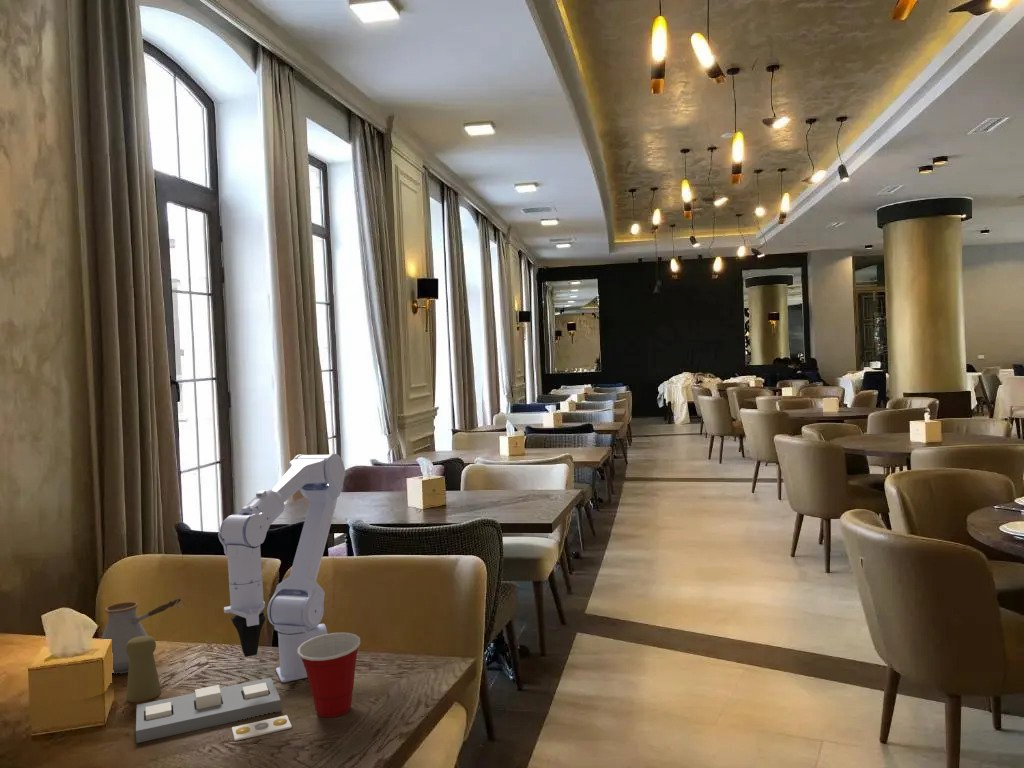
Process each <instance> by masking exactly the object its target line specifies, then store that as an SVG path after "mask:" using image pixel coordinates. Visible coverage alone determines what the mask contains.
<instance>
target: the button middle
mask: <svg viewBox="0 0 1024 768" xmlns="http://www.w3.org/2000/svg"><path fill="white" fill-rule="evenodd" d="M220 688H221V687H220V685H219V684H217V685H211V686H206V687H202V688H196V689H194V693H195V700H196V709H202V708H207V707H212V706H216V705H221V692H220Z"/></svg>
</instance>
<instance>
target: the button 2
mask: <svg viewBox="0 0 1024 768" xmlns="http://www.w3.org/2000/svg"><path fill="white" fill-rule="evenodd" d="M268 694H269V691H268V688H267V685H266V683H260V684H255V685H250V686H246V687H243V699H244V700H245V699H249V698H254V697H259V696H263V695H268Z"/></svg>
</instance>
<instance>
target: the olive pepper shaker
mask: <svg viewBox="0 0 1024 768" xmlns="http://www.w3.org/2000/svg"><path fill="white" fill-rule="evenodd" d="M156 647H157V643H156V639H155V638H154V636H152V635H148V636H139V637H135V638H132V639H131V640H129V641H128V642H127V644H126V653H127V655H128V656H129V669H128V672H127V684H126V685H127V686H126V697H125V698H126V701H127V702H130V703H139V702H140V703H141V702H146V701H149V700H152V699H155V698H157V697H159V696H160V695H161V693H162V689H161V683H160V679H159V675H158V674H159V673H158V670H157V664H156V660H155V656H154V652H155V651H156V649H157V648H156Z"/></svg>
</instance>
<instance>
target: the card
mask: <svg viewBox="0 0 1024 768" xmlns="http://www.w3.org/2000/svg"><path fill="white" fill-rule="evenodd" d="M289 719H290V718H289V717H288V714H285V715H281V716H276V717H273V718H272V717H271V718H268V719H263V720H259V721H254V722H250V723H246V724H240V725H237V726H232V727H231V731H232V736H233V739H234V741H235V742H237V741H240V740H245V739H250V738H254V737H258V736H259V737H260V736H262V735H267V734H271V733H275V732H276V733H277V732H279V731H280V732H281V731H285V730H288V729H293V728H292V727H293V726H292V724H291V721H290V720H289Z"/></svg>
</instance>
